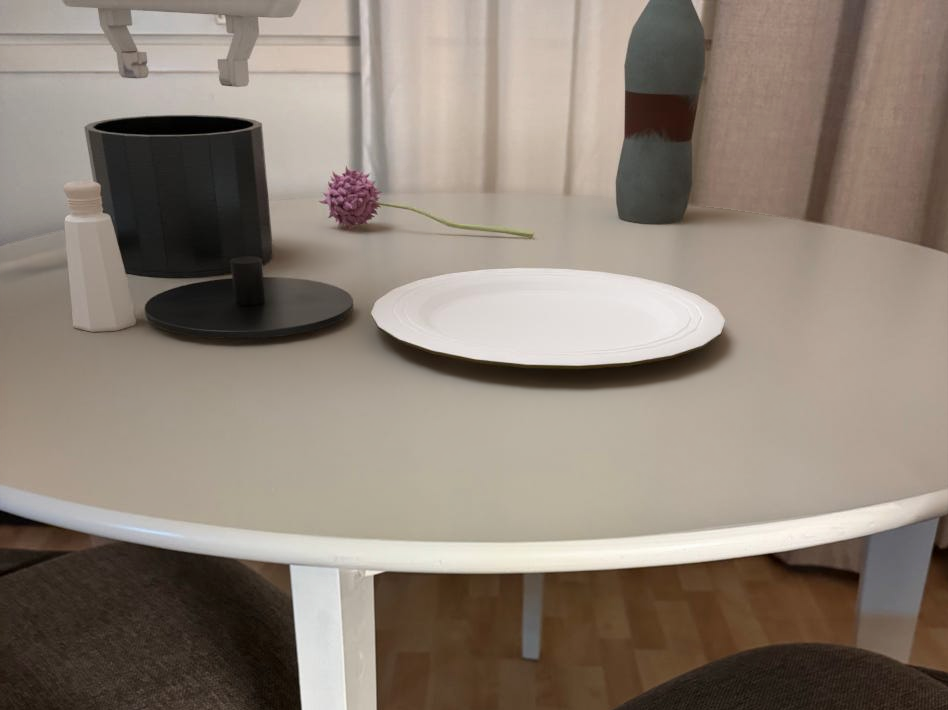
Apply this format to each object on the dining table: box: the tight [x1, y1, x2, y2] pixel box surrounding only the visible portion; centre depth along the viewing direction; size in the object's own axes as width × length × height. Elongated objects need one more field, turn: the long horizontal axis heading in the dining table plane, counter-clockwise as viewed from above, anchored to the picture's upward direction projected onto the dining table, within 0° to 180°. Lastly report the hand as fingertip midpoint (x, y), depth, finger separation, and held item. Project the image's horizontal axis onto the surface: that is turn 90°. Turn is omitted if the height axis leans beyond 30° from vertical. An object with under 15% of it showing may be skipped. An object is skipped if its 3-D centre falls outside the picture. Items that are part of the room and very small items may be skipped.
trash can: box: [83, 114, 274, 278], centre depth 107 cm, size 17×17×12 cm
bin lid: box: [144, 256, 354, 340], centre depth 91 cm, size 18×18×5 cm
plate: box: [370, 267, 726, 371], centre depth 89 cm, size 29×29×2 cm
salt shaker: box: [62, 180, 138, 333], centre depth 87 cm, size 5×5×11 cm
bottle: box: [615, 0, 706, 225], centre depth 123 cm, size 9×9×30 cm
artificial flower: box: [318, 165, 535, 239], centre depth 121 cm, size 7×7×25 cm
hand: (183, 81), depth 82 cm, fingers open, 8 cm apart
